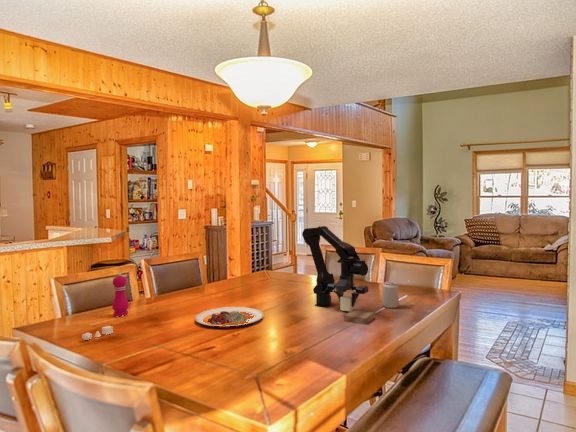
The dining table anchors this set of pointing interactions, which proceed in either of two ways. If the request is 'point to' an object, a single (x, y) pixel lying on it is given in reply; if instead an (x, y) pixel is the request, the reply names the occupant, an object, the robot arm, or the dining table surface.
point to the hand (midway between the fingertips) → (347, 306)
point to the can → (390, 295)
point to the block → (346, 303)
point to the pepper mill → (120, 296)
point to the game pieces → (105, 330)
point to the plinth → (359, 317)
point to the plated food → (229, 316)
